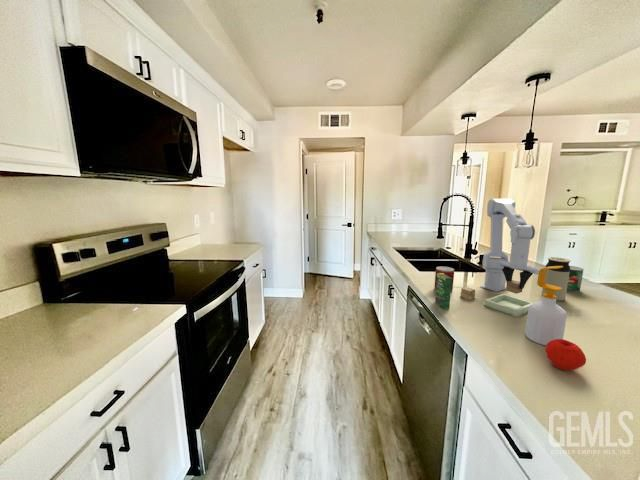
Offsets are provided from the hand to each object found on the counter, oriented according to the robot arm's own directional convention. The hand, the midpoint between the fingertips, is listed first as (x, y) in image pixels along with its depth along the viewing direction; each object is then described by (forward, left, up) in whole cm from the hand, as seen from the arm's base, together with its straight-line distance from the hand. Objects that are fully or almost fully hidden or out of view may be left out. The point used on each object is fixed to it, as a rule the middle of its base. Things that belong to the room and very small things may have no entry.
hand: (515, 286), depth 107 cm
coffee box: (+25, -15, -9) cm, 30 cm away
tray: (+3, 0, -8) cm, 9 cm away
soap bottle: (+20, +18, -9) cm, 28 cm away
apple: (+32, +27, -9) cm, 43 cm away
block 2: (+1, 0, -2) cm, 2 cm away
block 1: (+7, -15, -9) cm, 19 cm away
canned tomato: (-46, +3, -9) cm, 47 cm away
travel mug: (-26, +4, -9) cm, 28 cm away
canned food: (+9, -26, -9) cm, 29 cm away
